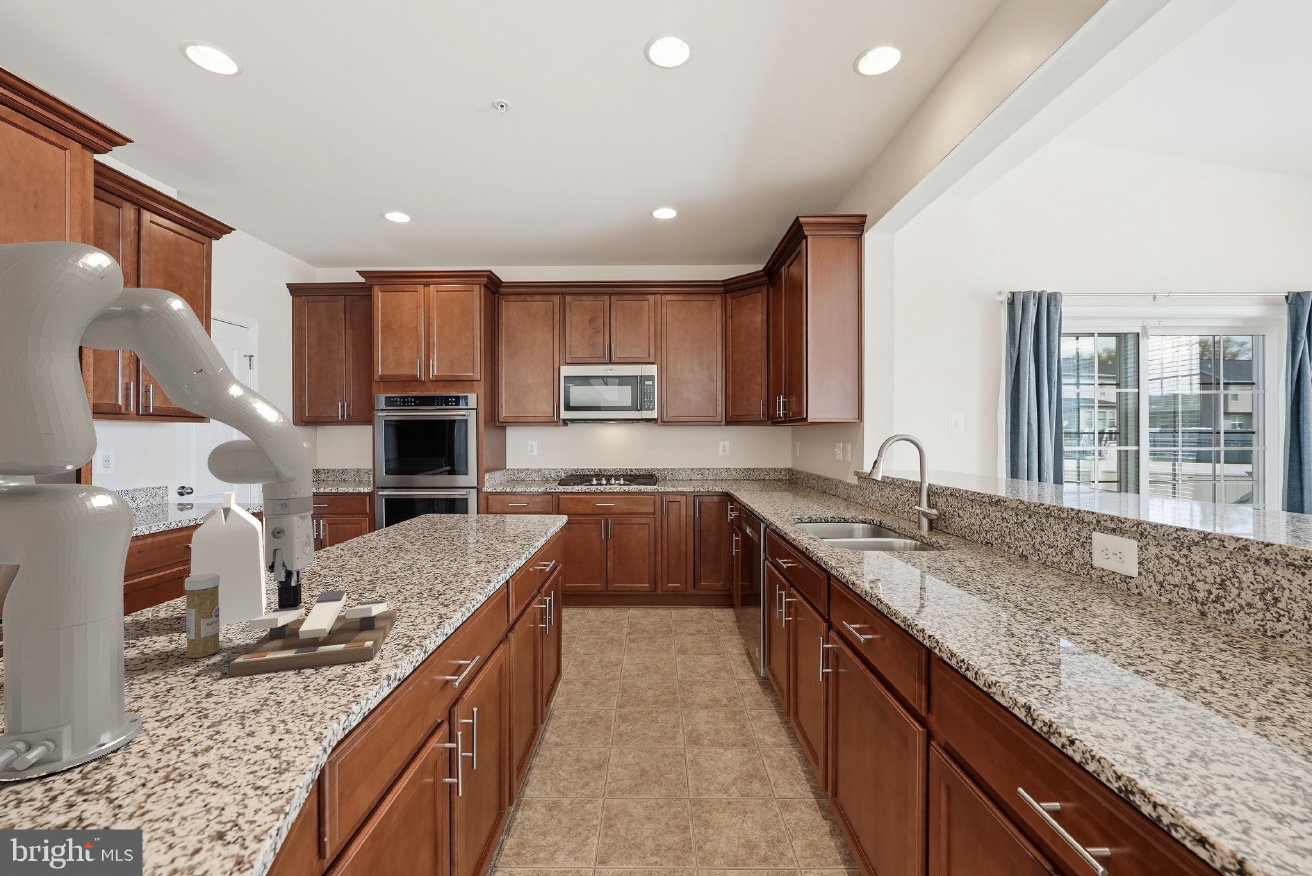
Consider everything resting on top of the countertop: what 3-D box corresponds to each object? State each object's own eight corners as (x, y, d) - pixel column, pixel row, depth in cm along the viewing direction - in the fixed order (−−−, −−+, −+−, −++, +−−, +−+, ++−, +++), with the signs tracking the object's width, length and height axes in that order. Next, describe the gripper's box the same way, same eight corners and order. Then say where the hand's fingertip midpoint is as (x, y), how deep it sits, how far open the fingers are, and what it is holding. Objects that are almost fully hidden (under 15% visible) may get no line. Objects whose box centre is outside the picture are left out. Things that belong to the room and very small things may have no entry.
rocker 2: (371, 616, 90) (372, 604, 90) (345, 618, 89) (346, 607, 89) (386, 609, 101) (387, 599, 102) (363, 611, 100) (364, 601, 101)
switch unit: (372, 659, 86) (372, 635, 86) (230, 676, 81) (229, 650, 81) (396, 619, 106) (396, 600, 106) (282, 630, 100) (282, 610, 100)
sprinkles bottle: (218, 654, 89) (217, 576, 89) (183, 661, 87) (182, 580, 87) (222, 645, 93) (221, 570, 93) (188, 652, 91) (187, 574, 91)
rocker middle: (326, 635, 88) (325, 625, 88) (299, 638, 87) (298, 628, 87) (346, 598, 100) (345, 589, 99) (322, 600, 99) (321, 591, 98)
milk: (263, 619, 107) (261, 493, 107) (188, 631, 100) (187, 497, 100) (266, 604, 117) (265, 488, 117) (198, 614, 110) (197, 492, 110)
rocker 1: (277, 627, 86) (278, 615, 86) (249, 629, 85) (250, 617, 85) (304, 615, 97) (304, 605, 98) (279, 617, 96) (280, 607, 97)
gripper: (296, 511, 90) (298, 617, 90) (325, 501, 104) (326, 592, 104) (245, 514, 88) (246, 622, 88) (281, 503, 102) (283, 596, 102)
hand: (290, 606), depth 96 cm, fingers closed
